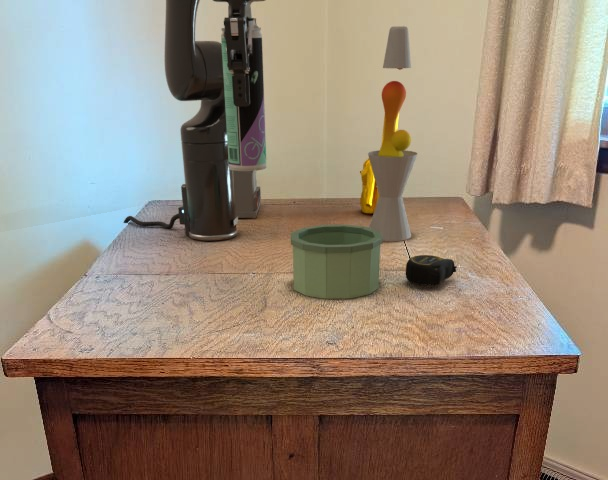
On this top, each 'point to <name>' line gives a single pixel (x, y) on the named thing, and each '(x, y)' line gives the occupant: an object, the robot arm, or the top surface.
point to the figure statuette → (370, 183)
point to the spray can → (246, 112)
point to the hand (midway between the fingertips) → (244, 103)
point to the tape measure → (429, 269)
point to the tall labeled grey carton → (246, 194)
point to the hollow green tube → (336, 261)
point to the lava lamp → (393, 148)
